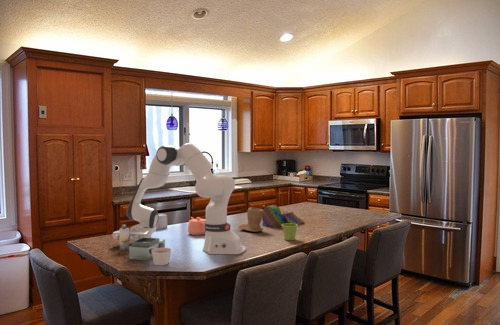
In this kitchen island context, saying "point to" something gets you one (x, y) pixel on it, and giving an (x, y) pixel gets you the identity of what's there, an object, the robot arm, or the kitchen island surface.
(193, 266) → the kitchen island surface
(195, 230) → the teapot
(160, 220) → the medicine box
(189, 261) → the kitchen island surface
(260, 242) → the kitchen island surface
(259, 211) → the brown hat
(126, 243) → the frosted glass bottle
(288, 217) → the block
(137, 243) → the green tray box
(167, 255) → the candle
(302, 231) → the kitchen island surface
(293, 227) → the plant pot
